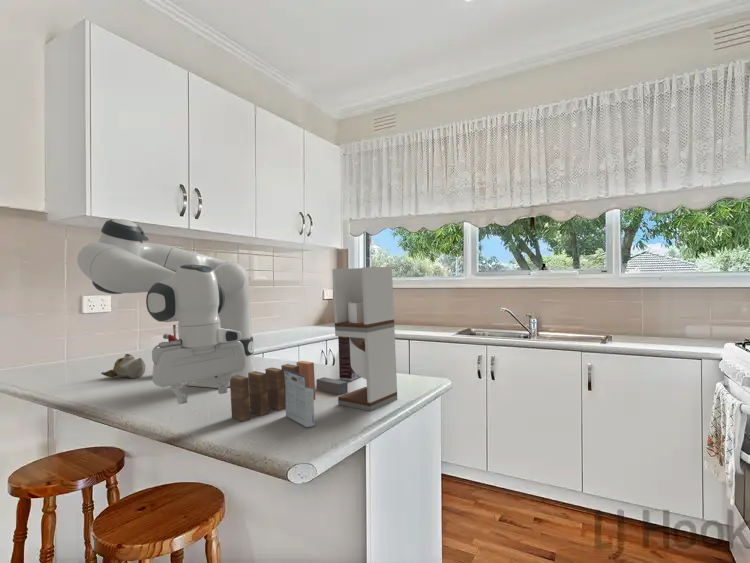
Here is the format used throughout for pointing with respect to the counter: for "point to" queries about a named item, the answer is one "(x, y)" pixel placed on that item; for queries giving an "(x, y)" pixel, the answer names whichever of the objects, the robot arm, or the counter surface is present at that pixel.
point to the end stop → (332, 385)
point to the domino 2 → (258, 393)
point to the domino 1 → (240, 398)
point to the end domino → (307, 374)
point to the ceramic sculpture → (127, 367)
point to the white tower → (367, 332)
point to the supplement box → (345, 360)
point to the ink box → (299, 400)
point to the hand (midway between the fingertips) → (203, 398)
